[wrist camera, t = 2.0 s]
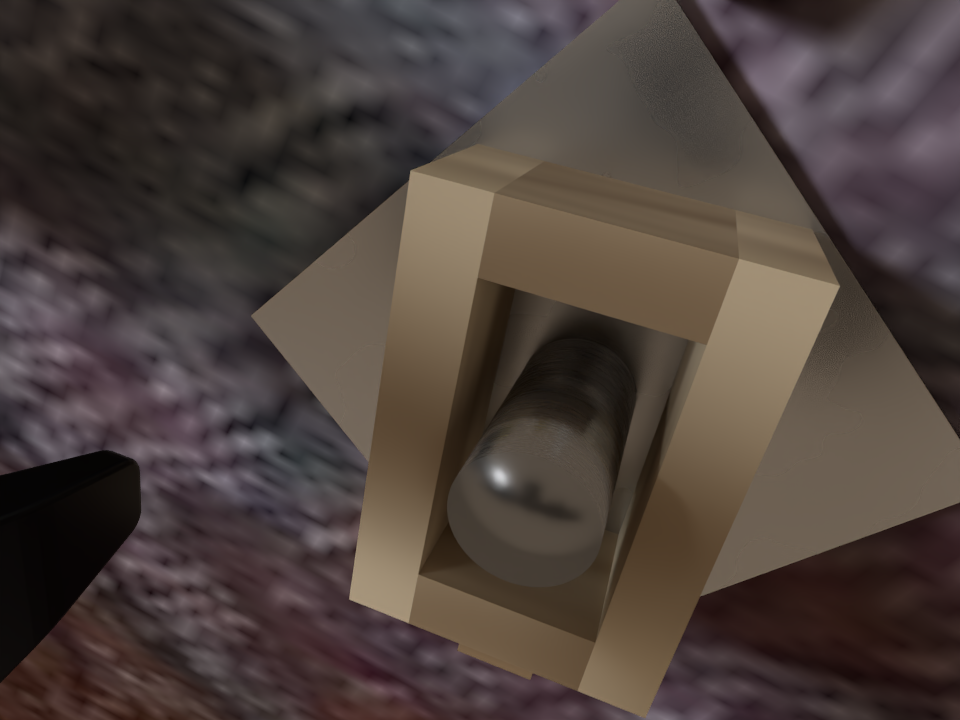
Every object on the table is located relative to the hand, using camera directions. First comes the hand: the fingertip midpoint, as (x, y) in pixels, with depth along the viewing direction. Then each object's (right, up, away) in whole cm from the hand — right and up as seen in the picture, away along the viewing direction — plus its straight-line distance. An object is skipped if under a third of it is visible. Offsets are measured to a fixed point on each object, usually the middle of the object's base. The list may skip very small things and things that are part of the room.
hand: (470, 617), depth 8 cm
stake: (+2, +2, +6) cm, 7 cm away
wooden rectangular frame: (+2, +2, +5) cm, 6 cm away
